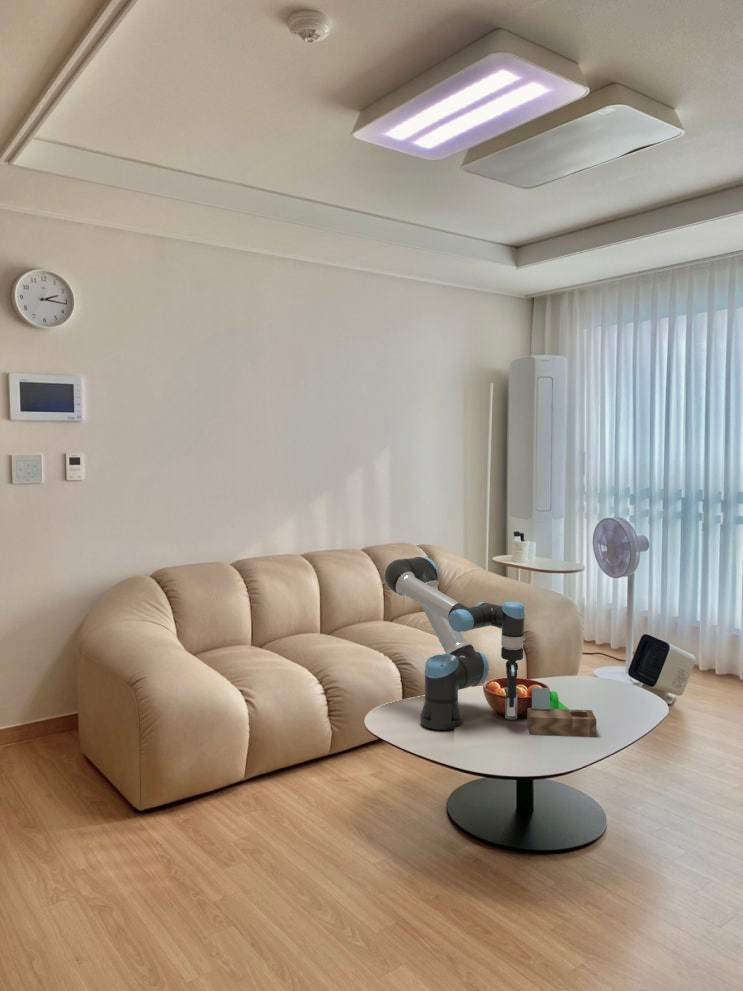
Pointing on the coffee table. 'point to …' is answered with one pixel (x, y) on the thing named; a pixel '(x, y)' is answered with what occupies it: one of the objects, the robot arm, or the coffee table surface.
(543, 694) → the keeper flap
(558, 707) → the mechanical part
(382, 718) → the coffee table surface
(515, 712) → the grey cylinder
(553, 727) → the block
